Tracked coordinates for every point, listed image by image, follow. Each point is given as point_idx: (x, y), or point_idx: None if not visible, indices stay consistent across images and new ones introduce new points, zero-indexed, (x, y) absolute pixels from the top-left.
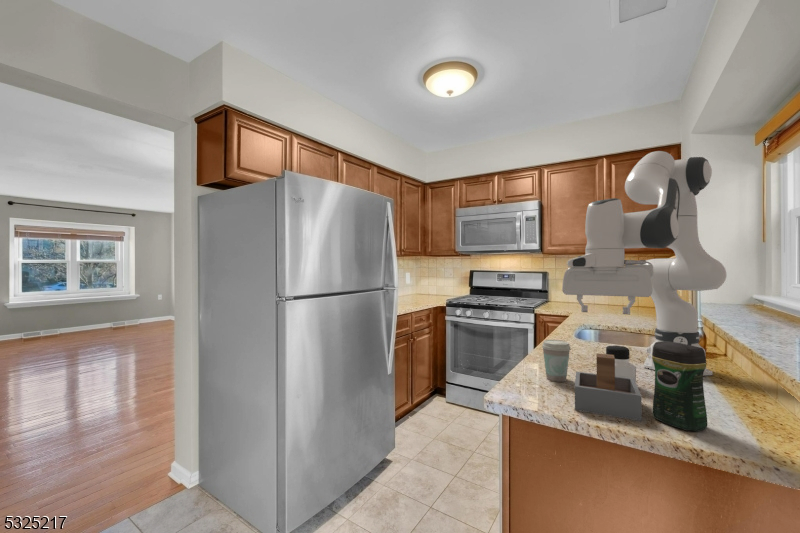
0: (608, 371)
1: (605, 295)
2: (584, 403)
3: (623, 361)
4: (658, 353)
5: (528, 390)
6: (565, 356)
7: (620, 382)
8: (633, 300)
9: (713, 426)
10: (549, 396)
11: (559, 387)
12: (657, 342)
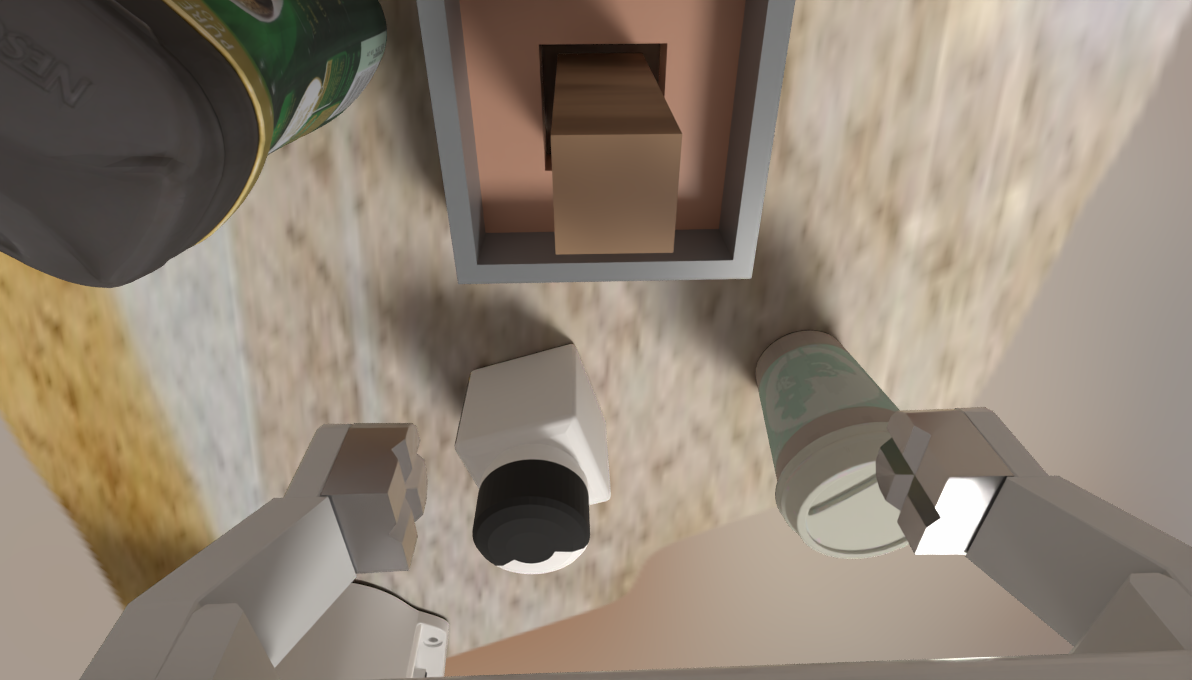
0: (593, 103)
1: (711, 667)
2: None
3: (506, 456)
4: (168, 33)
5: (974, 135)
6: (801, 425)
7: (526, 251)
8: (151, 615)
9: None
10: (872, 92)
11: (799, 257)
12: (151, 166)
